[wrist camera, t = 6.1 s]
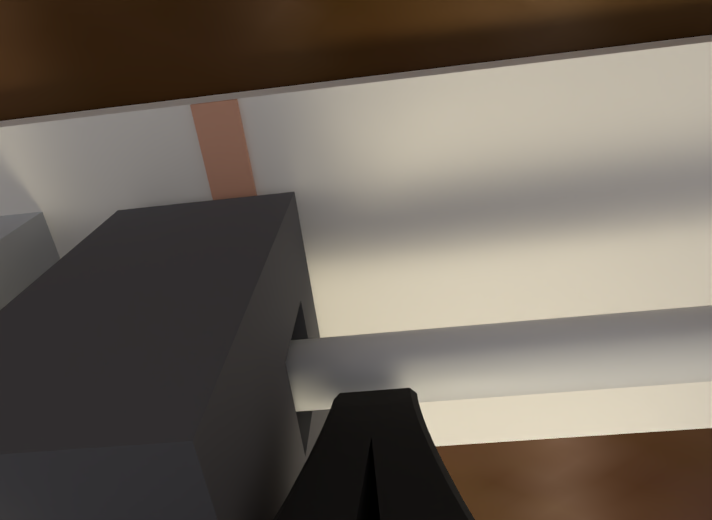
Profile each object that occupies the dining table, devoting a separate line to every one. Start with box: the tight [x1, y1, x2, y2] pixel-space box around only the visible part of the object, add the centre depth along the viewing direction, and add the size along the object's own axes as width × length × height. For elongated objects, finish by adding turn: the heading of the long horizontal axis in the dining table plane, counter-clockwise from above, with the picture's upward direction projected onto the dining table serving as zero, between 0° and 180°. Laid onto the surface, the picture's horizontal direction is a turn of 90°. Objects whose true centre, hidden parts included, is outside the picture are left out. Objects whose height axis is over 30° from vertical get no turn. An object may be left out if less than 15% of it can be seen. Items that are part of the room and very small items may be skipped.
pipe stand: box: [0, 35, 712, 446], centre depth 11 cm, size 20×10×8 cm, turn 97°
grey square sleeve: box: [0, 192, 330, 520], centre depth 10 cm, size 4×6×8 cm, turn 7°
